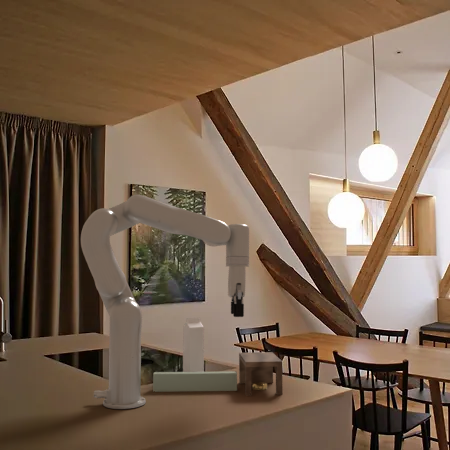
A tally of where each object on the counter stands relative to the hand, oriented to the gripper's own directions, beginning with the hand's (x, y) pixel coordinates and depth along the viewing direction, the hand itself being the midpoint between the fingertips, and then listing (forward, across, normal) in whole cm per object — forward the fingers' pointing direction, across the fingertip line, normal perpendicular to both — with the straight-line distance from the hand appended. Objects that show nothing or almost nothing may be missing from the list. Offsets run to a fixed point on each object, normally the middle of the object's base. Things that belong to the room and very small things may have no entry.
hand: (237, 315), depth 170 cm
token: (+26, -11, +9) cm, 30 cm away
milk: (+26, -31, -14) cm, 42 cm away
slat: (+26, -11, -13) cm, 31 cm away
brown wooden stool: (+26, -11, +9) cm, 29 cm away
